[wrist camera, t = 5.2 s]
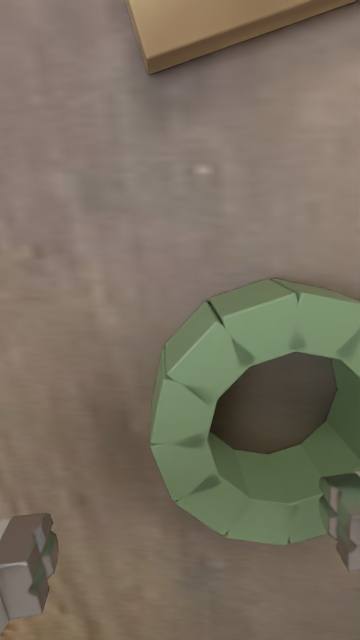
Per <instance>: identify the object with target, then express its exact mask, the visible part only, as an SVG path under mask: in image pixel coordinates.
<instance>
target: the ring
mask: <svg viewBox="0 0 360 640" xmlns="http://www.w3.org/2000/svg"><path fill="white" fill-rule="evenodd" d="M210 303H211V305H210V304H209V303H208V302H206V301H205V302H203V303H202V304H201V306H200V307H199V308H198V309H197V310H196V311H195V312H194V313H193V314H192V315H191V316H190V318H189V319H188V320H187V321H186V322H185V323H184V324H183V325H182V326H181V327H180V328H179V329H178V331H177V332H176V333H175V334H174V335H173V336H172V337H171V338H170V339H169V340H168V341H167V342H166V344H165V349H162V352H161V357H160V362H159V367H158V371H157V376H156V381H155V386H154V391H153V395H152V400H151V421H150V449H151V451H152V454H153V456H154V458H155V461H156V463H157V466H158V468H159V471H160V473H161V475H162V478H163V480H164V483H165V485H166V487H167V490H168V492H169V495H170V497H171V499H172V501H175V500H176V504H177V506H179V507H180V508H182V509H183V510H185V511H186V512H188V513H189V514H191V515H192V516H193V517H195V518H196V519H198V520H199V521H201V522H202V523H204V524H205V525H207V526H208V527H209V528H211V529H212V530H214V531H215V532H217V533H218V534H220V535H221V536H223V535H224V534H226V537H227V539H234V540H243V541H252V542H260V543H269V544H277V545H287V542H288V540H289V542H290V543H291V544H295V543H298V542H301V541H304V540H308V539H311V538H314V537H317V536H321V535H324V534H327V533H328V532H327V531H326V529H325V527H324V524H323V522H322V519H321V514H320V510H319V499H320V498H321V496H322V495H323V493H322V491H321V490H320V488H319V481H320V478H321V477H323V476H330V475H337V474H344V473H351V472H352V473H353V472H357V471H360V301H357V300H355V299H352V298H349V297H347V296H344V295H342V294H339V293H337V292H334V291H331V290H329V289H324V288H319V287H314V286H309V285H304V284H300V283H295V282H290V281H285V280H280V279H276V278H274V279H273V280H272V281H271V280H269V279H265V280H262V281H259V282H256V283H253V284H250V285H247V286H244V287H241V288H238V289H235V290H232V291H229V292H226V293H223V294H220V295H217V296H214V297H211V298H210ZM293 352H300V353H306V354H311V355H317V356H322V357H328V358H331V362H332V366H333V371H334V375H335V380H336V385H337V391H336V394H335V397H334V400H333V402H332V405H331V408H330V411H329V414H328V416H327V419H326V421H325V422H324V423H323V424H322V425H321V426H319V427H318V428H317V429H316V430H315V431H314V432H313V433H312V434H311V435H310V436H309V437H307V438H306V439H305V440H304V441H303V442H302V443H301V444H299V445H296V446H293V447H290V448H287V449H284V450H280V451H277V452H274V453H271V454H262V453H255V452H248V451H242V450H235V449H232V448H231V447H230V446H228V445H227V444H226V443H224V442H223V441H222V440H220V439H219V438H218V437H217V436H215V435H214V434H213V433H211V432H210V431H209V430H210V427H211V423H212V419H213V415H214V411H215V408H216V404H217V400H218V399H219V398H220V397H221V396H222V395H223V393H224V392H225V391H226V390H227V389H228V388H229V387H230V386H231V385H232V384H233V383H234V382H235V381H236V380H237V379H238V378H239V377H240V376H241V375H242V374H243V373H244V372H245V371H246V370H247V369H248V368H249V367H250V366H253V365H257V364H260V363H263V362H266V361H269V360H272V359H275V358H278V357H281V356H284V355H287V354H290V353H293Z"/></svg>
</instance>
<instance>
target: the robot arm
mask: <svg viewBox="0 0 360 640" xmlns="http://www.w3.org/2000/svg"><path fill="white" fill-rule="evenodd" d="M319 488H320V490H321V491H322V493H323V495H322V496H321V498H320V499H319V510H320V514H321V519H322V522H323V524H324V527H325V529H326V531H327V532H328V534H329V535H330V536H331V537H333V538H334V539H336V540H337V551H338V553H339V555H340V556H341V558H342V560H343V562H344V564H345V565H346V567H347V569H348V571H349V572H352V571H360V471H357V472H353V473H352V472H351V473H344V474H337V475H330V476H323V477H321V478H320V481H319ZM52 525H53V521H52V518H51V515H50V514H49V513H42V514H32V515H22V516H14V517H8V518H0V634H1V633H2V631H3V630H4V629H5V627H6V626H7V625H8V624H9V620H15V619H21V618H26V617H32V616H38V615H42V612H43V609H44V606H45V602H46V599H47V596H48V592H49V585H48V581H47V580H48V579H49V578H50V577H51V576H52V574H53V573H54V572H55V568H56V565H57V560H58V540H57V536H56V534H55V533H53V532H52V531H51V527H52Z"/></svg>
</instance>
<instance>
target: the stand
mask: <svg viewBox="0 0 360 640" xmlns="http://www.w3.org/2000/svg"><path fill="white" fill-rule="evenodd" d="M354 1H357V0H125V3H126V6H127V9H128V12H129V16H130V19H131V22H132V26H133V29H134V32H135V36H136V39H137V42H138V45H139V49H140V52H141V55H142V59H143V62H144V65H145V68H146V72H147V74H152V73H155V72H158V71H161V70H163V69H166V68H169V67H172V66H175V65H177V64H180V63H183V62H186V61H189V60H191V59H194V58H197V57H200V56H203V55H205V54H208V53H211V52H214V51H217V50H220V49H222V48H225V47H228V46H231V45H234V44H236V43H239V42H242V41H245V40H248V39H250V38H253V37H256V36H259V35H262V34H264V33H267V32H270V31H273V30H276V29H279V28H281V27H284V26H287V25H290V24H293V23H295V22H298V21H301V20H304V19H307V18H309V17H312V16H315V15H318V14H321V13H323V12H326V11H329V10H332V9H335V8H338V7H340V6H343V5H346V4H349V3H352V2H354Z"/></svg>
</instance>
